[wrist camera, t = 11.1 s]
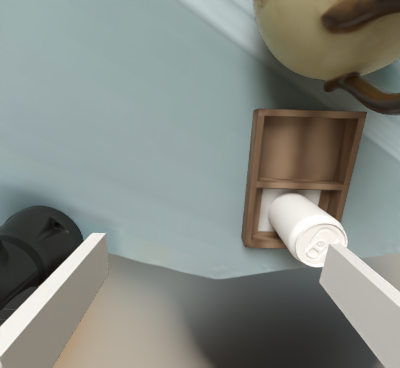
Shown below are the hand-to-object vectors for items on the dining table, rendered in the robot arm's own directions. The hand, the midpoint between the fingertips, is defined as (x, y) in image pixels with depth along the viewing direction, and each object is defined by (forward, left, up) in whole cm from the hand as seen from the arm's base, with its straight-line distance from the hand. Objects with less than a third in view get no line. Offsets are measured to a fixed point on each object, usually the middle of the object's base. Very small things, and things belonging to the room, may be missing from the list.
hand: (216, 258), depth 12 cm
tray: (+16, -2, -28) cm, 32 cm away
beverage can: (+16, -8, -27) cm, 33 cm away
